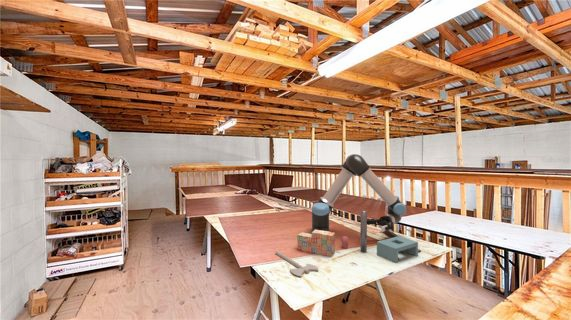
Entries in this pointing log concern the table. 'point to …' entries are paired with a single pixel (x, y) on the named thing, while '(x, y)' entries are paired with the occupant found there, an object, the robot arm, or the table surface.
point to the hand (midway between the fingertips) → (371, 227)
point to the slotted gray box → (393, 235)
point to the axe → (300, 268)
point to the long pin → (363, 232)
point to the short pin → (344, 242)
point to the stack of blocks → (317, 242)
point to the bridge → (396, 247)
